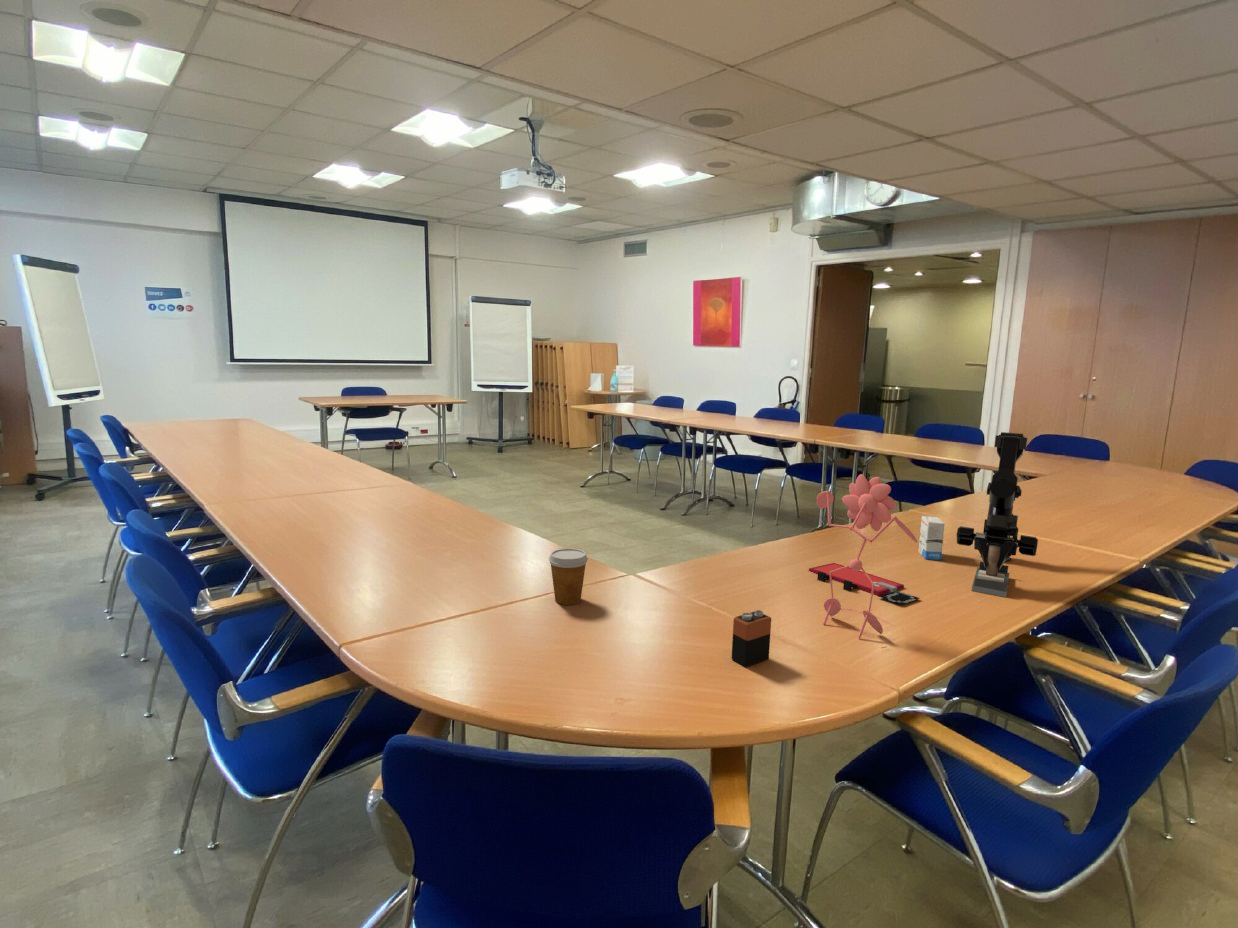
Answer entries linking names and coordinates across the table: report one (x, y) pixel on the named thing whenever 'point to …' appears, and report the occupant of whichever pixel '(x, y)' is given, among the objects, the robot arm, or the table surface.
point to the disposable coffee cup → (568, 574)
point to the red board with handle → (863, 582)
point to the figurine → (865, 508)
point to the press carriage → (992, 566)
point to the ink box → (931, 538)
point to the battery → (751, 638)
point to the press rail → (991, 582)
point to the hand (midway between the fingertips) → (992, 567)
